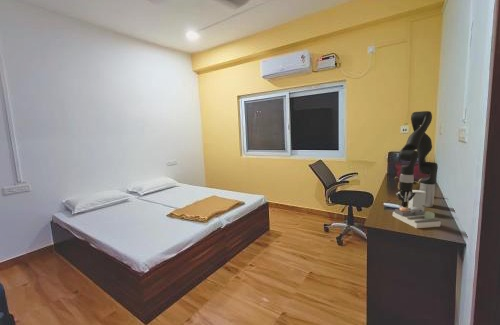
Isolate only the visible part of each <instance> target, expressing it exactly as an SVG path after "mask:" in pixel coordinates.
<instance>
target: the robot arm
mask: <svg viewBox="0 0 500 325" xmlns="http://www.w3.org/2000/svg"><path fill="white" fill-rule="evenodd" d="M432 119H433V113H432V111H430V110H429V111H428V110H425V111H424V110H423V111H421V110H420V111H414V112H412V113H411V115H410V122H411V126H412V130H413V132H411V133H410V134H409V136H408V138H407V141H406V144H405V145H404V146H403V147H402V148H401V149H400V150H399V152H398V154H397V155H398V158H399V160H400V161H402V162H403V161H404V162H409V163H408V164H402V165H401V167H400V174H399V179H400V181H399V180H398V182H399V188H400V189H398V192H395V196H396V197H397V199H398V200H399V201H401V206H402V207H405V208H408V204H409V201H410V200H411V199H412V198H413V197H414V195H415V193H413V192H412V189H413V181H414V179H415V178H414V174H415V173H414V172H415V167H416V164H417V162H418V166H417V167H418V171H419V173H421V174H422V175H429V176H427V177H423V178H422V179H421V178H420V179H421V180H420V179H419V180H420V189H419V190H421V191H424V192H426V199H425V208H426V207H427V208H431V207H434V203H435V202H434V201H435V191H436V181H437V173H438V168H439V167H438V163H437V162H432V161H426V158H427V156H428V154H430V152H431V151H432V150H433V143H432V139H431V137H430V136H429V135H428V134H427V133H426V131H427V130H428V129H429V126H430V125H431V123H432V121H433V120H432Z"/></svg>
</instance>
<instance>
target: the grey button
mask: <svg viewBox="0 0 500 325" xmlns="http://www.w3.org/2000/svg"><path fill="white" fill-rule="evenodd" d="M410 210H412V211H414V212H418V211H420V208H419V207H411V208H410Z"/></svg>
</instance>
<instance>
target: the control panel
mask: <svg viewBox="0 0 500 325" xmlns="http://www.w3.org/2000/svg"><path fill="white" fill-rule="evenodd" d="M407 208H408V207H407ZM399 209H400V208H395V209H394V211H392V217H393V218H395V219H397V220H399V221H401V222H403V223H405V224H407V225H409V226H411V227H412V228H415V229H423V228H424V229H425V228H437V227H441V223H442V222H441V219H440V218H434V219H428V220H427V219H425V218H424V215H425V210H424V211H423V210H420V211H418V212H414V211H412V210H410V208H408V209H409V212H401V211H399Z"/></svg>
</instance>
